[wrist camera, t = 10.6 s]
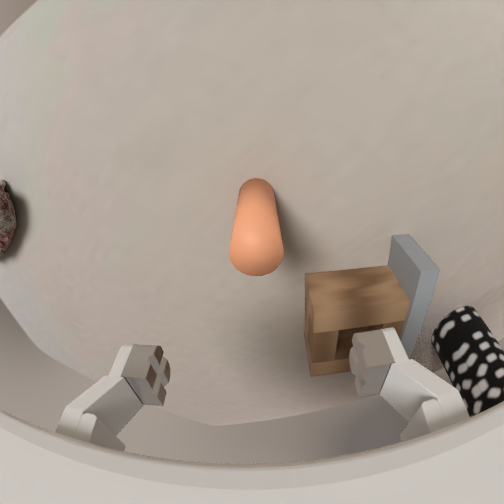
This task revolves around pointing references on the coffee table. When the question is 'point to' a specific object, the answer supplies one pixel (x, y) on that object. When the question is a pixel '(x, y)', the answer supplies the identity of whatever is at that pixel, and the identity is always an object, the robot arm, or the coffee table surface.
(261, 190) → the orange rounded capsule
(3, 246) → the mineral rock
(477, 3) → the coffee table surface
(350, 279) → the block
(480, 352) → the white-spotted black cylinder
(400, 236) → the slab
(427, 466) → the robot arm
